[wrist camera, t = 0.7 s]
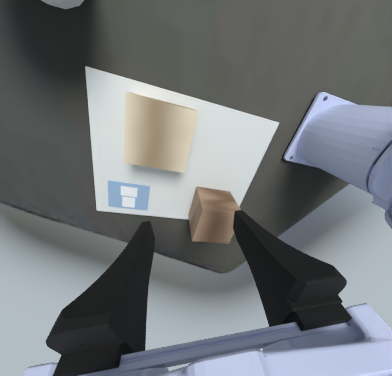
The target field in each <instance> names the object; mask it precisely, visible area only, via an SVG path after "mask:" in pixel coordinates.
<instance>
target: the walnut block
mask: <svg viewBox="0 0 392 376" xmlns="http://www.w3.org/2000/svg"><path fill="white" fill-rule="evenodd" d="M237 210H241V209H240V207H239V206H238V204H237V202H236V201H235V199H234V197H233V196H232V194H231V192H230V191H224V190H217V189H210V188H204V187H197V186H196V190H195V193H194V197H193V200H192V204H191V207H190V211H189V214H188V215H189V223H190V230H191V237H192V241H198V242H213V243H229V242H230V240H231V238H232V236H233V234H234V230H233V222H234V213H235V211H237Z"/></svg>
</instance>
